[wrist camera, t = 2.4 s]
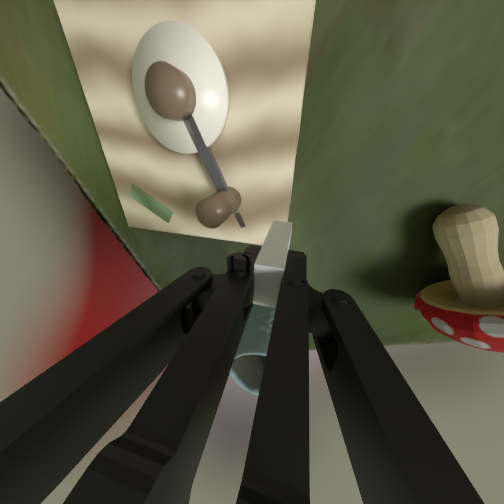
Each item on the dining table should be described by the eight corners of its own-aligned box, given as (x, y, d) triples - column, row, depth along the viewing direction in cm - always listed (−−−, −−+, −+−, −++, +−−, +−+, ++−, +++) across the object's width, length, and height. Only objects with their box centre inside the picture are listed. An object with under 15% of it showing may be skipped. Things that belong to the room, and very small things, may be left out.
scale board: (73, 9, 20) (50, -5, 18) (319, -27, 15) (320, -51, 13) (137, 222, 32) (127, 227, 30) (285, 241, 27) (283, 248, 25)
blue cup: (251, 324, 38) (231, 389, 28) (248, 284, 33) (222, 347, 23) (303, 333, 36) (301, 408, 26) (308, 291, 31) (308, 365, 21)
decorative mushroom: (497, 206, 13) (548, 409, 13) (599, 168, 15) (639, 348, 15) (368, 228, 24) (400, 339, 24) (436, 205, 26) (463, 308, 26)
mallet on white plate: (123, 70, 20) (59, 45, 15) (197, -4, 16) (145, -73, 11) (204, 221, 26) (180, 240, 21) (271, 196, 22) (260, 212, 17)
